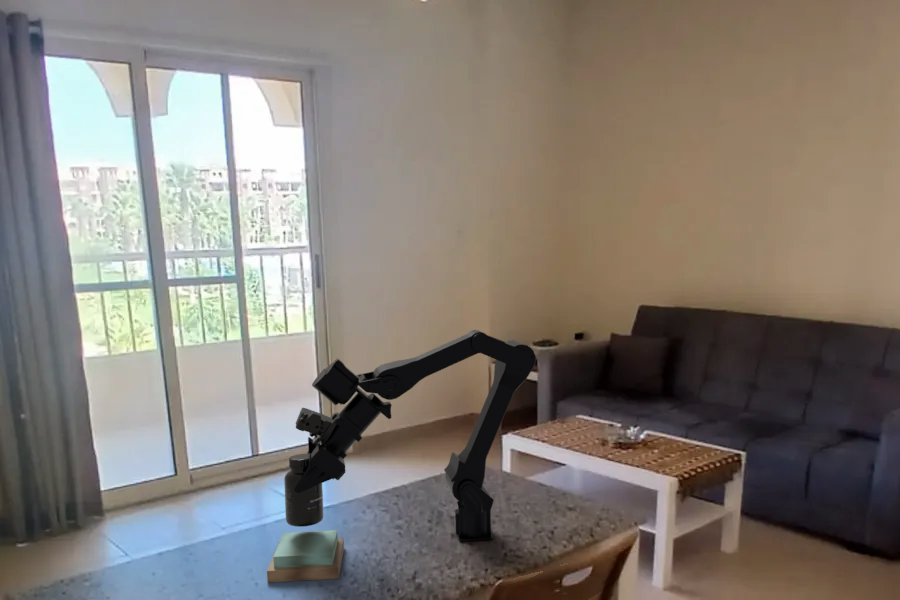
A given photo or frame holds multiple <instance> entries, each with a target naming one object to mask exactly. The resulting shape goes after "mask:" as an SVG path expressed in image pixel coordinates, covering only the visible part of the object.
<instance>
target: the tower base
mask: <svg viewBox="0 0 900 600" xmlns="http://www.w3.org/2000/svg"><path fill="white" fill-rule="evenodd" d="M344 541H345V540H344V537H338V529H336V530H334V529H333V530H318V531H298V532H297V531H296V532H282V534H281V537H280V539H279V541H278V542H277V545H276V548H275V550H274V552H273V554H272V558H271V559H270V562H269V565H268V567H267V570H266V578H267V579H266V581H267V582H266V583H280V582H281V583H282V582H283V583H284V582H295V581H296V582H299V581H314V580H315V581H317V580H333V579H334V580H335V579H336V580H337V579H339V578H340V572H341V567H342V561H343V555H344V550H345V543H344Z"/></svg>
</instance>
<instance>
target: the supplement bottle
mask: <svg viewBox="0 0 900 600" xmlns="http://www.w3.org/2000/svg"><path fill="white" fill-rule="evenodd" d="M288 461H289V464H288V468H289V470H288V472H286V473H285V475H284V479H283V480H284V483H283V484H284V504H285V505H284V507H285V521H286V523H287V524H288V525H289V526H291V527H300V528H301V527H311V526H314V525H317V524H320V522H322V521H323V519H324V497H323V496H324V494H323V493H324V490H323V483H321V484H318V485H316V486H314V487H312V488H309V489H307V490H305V491H303V492H301V493H296V492H295V491H294V488H295V487H296V485H297V483H298V482H299V480H300V479H301V477H302V476H303V474H304V473H305V471H306V469H307V468H308V466H309V464H310V461H309V454H307V453H298V454H295V455H294V454H293V455H291V456H289V459H288Z"/></svg>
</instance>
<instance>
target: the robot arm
mask: <svg viewBox="0 0 900 600" xmlns="http://www.w3.org/2000/svg"><path fill="white" fill-rule="evenodd" d="M478 354H482V355H484V356H487V357H489V358H491V359H495V364H494V371H493V381H492V384H491V387H490V389H489V391H488V395H487V396H486V398H485V401H484V403H483V406H482V407H481V410H480V413H479V415H478V416H477V420H476V422H475V425H474V427H473V429H472V431H471V434H470V435H469V439H468V441H467V444H466V446H465V448H463V450H462V451H461V452H460V453H458V454H456V453H455V452H451V453H450V459H449V462H448V465H447V466H446V467H445V468H444V469H443V470H444V472H445V478H444V479H445V480H444V481H445V484H446V486H447V487H448V489H449V491H450V492H451V494H452V495H453V497H454V498H455V499H456V508H455V509H454V513H453V515H454V533H455V535H456V536H457V538H458V541H459V542H474V541H475V542H476V541H489V540H490V541H492V540H494V539H493V538H494V536H493V533H492V507H493V504H494V498H493V497H492V496H491V494H490V493H489V492H488V491H487V489H486V488H485V486H484V481H485V477H486V464H487V457H488V456H489V453H490V451H491V448H492V446H493V444H494V442H495V439H496V436H497V434H498V433H499V429H500V427H501V425H502V422H503V419H505V418H504V417H505V416H506V413H507V410H508V408H509V405H510V404H511V400H512V399H513V398H514V397H513V396H514V394H515V392H516V391H517V390H518V388H520V387H521V386H522V384H523V383H524V382H525V381H526V380H527V379H528V377H529V375H530V373H532V370H533V369H534V368H535V365H536V362H537V356H536V354H535V352H534V349H532V348H531V347H530V345H529V346H528V345H527V344H524V343H522V342H520V341H518V340H514V339H513V340H512V339H511V340H508V341H503V340H501V339H499V338H495V337H493V336H490V335H488V334H487V333H484V332H483V331H480V330H479V329H474V330H470V331H469V332H468V333H466V334H464V335H462V336H460V337H457V338H456V339H453V340H450V341H448V342H446V343H443V344H442V345H439V346H437V347H434V348H433V349H430V350H428V351H426V352H424V353H421V354H419V355H417V356H415V357H411V358H407V359H406V358H405V359H399V360H395V361H394V360H393V361H391V362H388V363H387V362H386V363H383V364H380V365H379V366H377V367H376V368H375V369H374V370H373V371H368V372H364V373H358V374H355V373H354V372H353V371H352V370H351V369H350V368H348V367H347V366H346V365H345V364H344V362H343V361H341V360H340V358H336V359H335V360H334V361H333V362H331V363H330V364H329V365H328V366H326V368H323V369H322V370H321V371H320V372H319V374H318V375H317V376H316V378H315V379H314V381H313V382H312V384H311V386H312V387H313V388H314V389H315V390H316V391H317V392H319V394H321V395H322V396H323V397H324V398H326V399H327V400H328V401H329V402H330V403H332V404H333V405H334V406H337V405H338V404H340V405H341V406H342V405H345V404H346V405H345V406H344V407H343V409H342V410H341V411H340V412H339V411H338V412H334V413H333V414H332V415H331V416H328V415H325V414H324V413H320V412H318V411H315V410H312V409H309V408H307V407H306V408H305V407H301V409H300V412H299V414H298V415H297V419H296V421H295V429H297V430H298V431H301V432H307V433H308V434H309V436H308V438H307V442H308V443H307V445H308V450H307V452H306V454H309V461H310V464H309V466H308V468H307V469H306V471H305V473H304V474H303V476H302V477H301V479H300V480H299V482H298V483H297V485H296V487H295V488H294V491H295V492H296V493H301V492H303V491H305V490H307V489H309V488H312V487H314V486H316V485H318V484H321V483H322V484H323V483H326V482H328V481H330V480H334V479H335V480H336V481H340V479H342V477H343V476H344V475H345V473H346V462H345V458H346V457H347V456H348V453H347V452H348V451H349V450H350V448H351V447H352V446H353V445H354V444H355V443H356V441H357V443H359V442H361V440H362V439H363V436H362V435H363V434H364V433H365V431H366V430H367V429H369V427H370V426H371V424H373V422H374V421H376V419H377V418H378V417H379V416H380V414H382V415H383V416H384V417H385V418H386V419H388V420H390V419H392V403H391V401H393V400H396V399H398V398H400V397H401V396H403V395H404V394H406V393H407V392H408V391H410V390H412V389H413V388H414V387H415V386H416V385H417V384H418V383H419V382H420V381H422V380H423V379H425V378H427V377H429V376H430V375H433V374H436V373H437V372H440V371H442V370H444V369H446V368H448V367H451V366H453V365H455V364H457V363H460V362H462V361H464V360H466V359H469V358H470V357H473V356H476V355H478ZM355 393H356V394H355ZM368 394H369V395H368ZM376 394H377V395H378V396H380V397H381V398H382V399H385V400H387V401H383V400H382V399H380V398H379V397H378V396H377V395H376Z"/></svg>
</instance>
